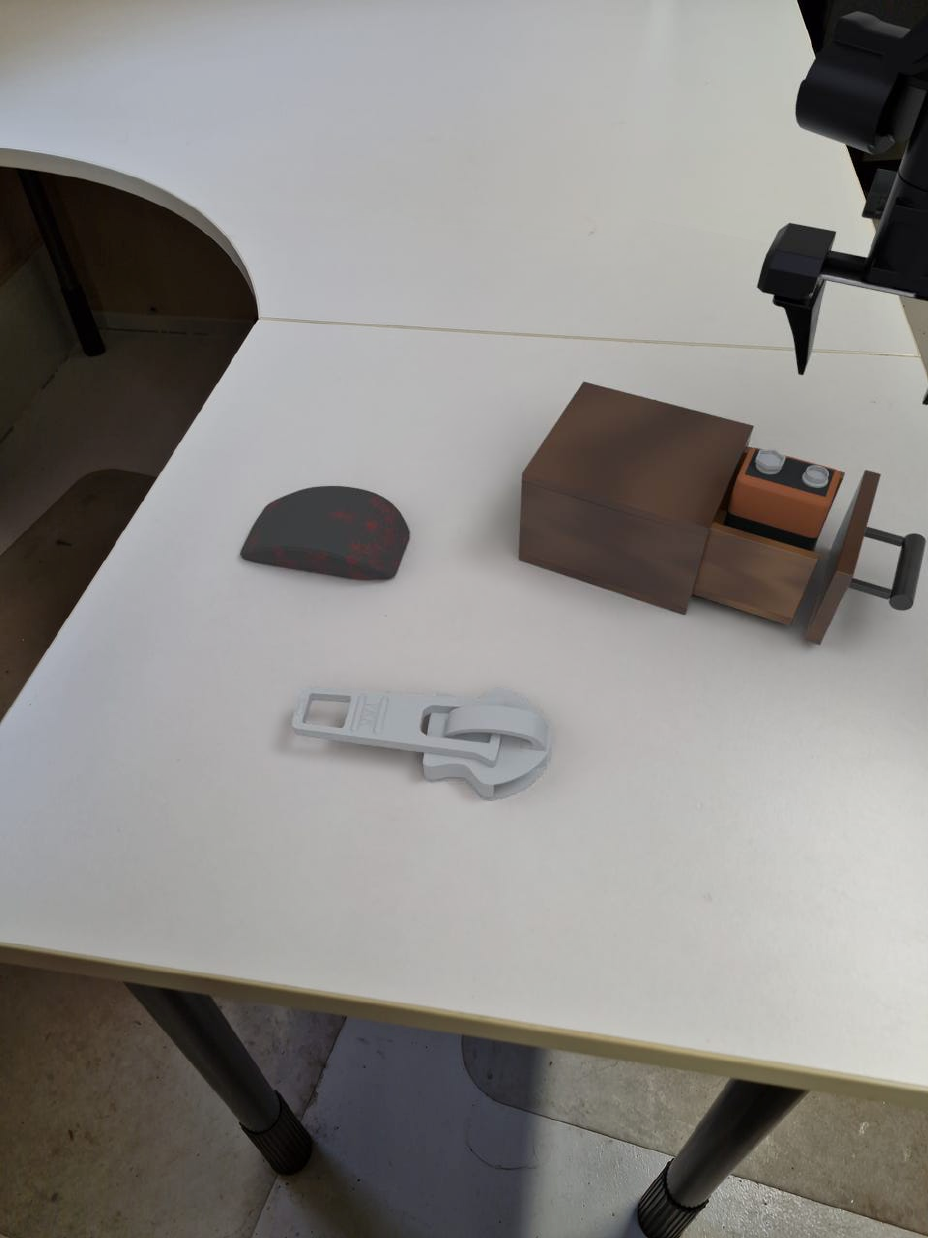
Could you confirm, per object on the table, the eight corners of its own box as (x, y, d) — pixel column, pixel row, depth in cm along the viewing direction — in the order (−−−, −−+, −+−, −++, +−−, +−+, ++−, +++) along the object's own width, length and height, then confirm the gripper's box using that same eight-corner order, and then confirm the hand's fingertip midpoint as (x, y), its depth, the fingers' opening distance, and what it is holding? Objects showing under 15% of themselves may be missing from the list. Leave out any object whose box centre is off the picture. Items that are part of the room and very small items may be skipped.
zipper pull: (316, 686, 65) (307, 652, 62) (554, 709, 63) (557, 675, 60) (289, 778, 60) (277, 746, 57) (546, 806, 58) (550, 775, 55)
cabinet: (728, 513, 76) (754, 425, 69) (685, 615, 69) (709, 529, 61) (574, 468, 80) (583, 380, 73) (518, 559, 73) (521, 473, 65)
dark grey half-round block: (389, 591, 71) (385, 558, 68) (236, 567, 73) (225, 533, 70) (415, 525, 76) (412, 491, 73) (270, 503, 78) (262, 469, 75)
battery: (725, 530, 72) (754, 433, 64) (807, 555, 70) (847, 459, 62) (710, 564, 69) (738, 468, 62) (795, 591, 67) (835, 495, 60)
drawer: (908, 562, 71) (947, 490, 65) (885, 667, 64) (926, 598, 58) (691, 499, 76) (709, 427, 70) (649, 589, 69) (664, 519, 63)
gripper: (1112, 152, 56) (1001, 360, 68) (820, 108, 61) (766, 308, 73) (1111, 226, 49) (989, 441, 61) (785, 170, 55) (732, 378, 67)
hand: (862, 386), depth 66 cm, fingers open, 9 cm apart
